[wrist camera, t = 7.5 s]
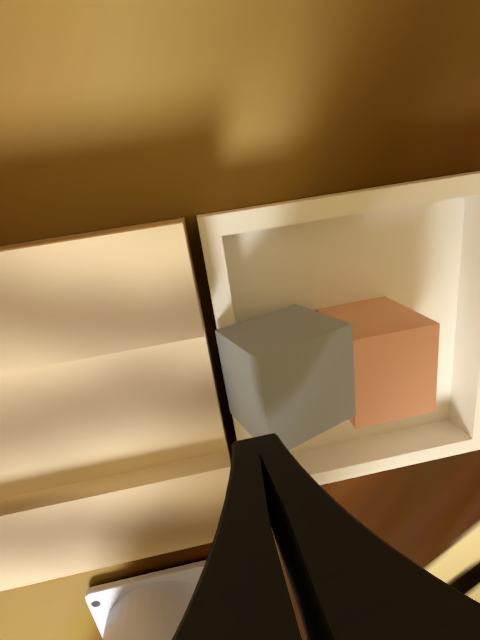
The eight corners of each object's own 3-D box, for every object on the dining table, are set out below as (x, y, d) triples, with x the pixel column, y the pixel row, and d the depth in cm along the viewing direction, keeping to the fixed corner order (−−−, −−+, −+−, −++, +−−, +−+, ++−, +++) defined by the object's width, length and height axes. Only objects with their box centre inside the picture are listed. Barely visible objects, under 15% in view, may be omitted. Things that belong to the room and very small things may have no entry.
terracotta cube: (321, 381, 18) (385, 368, 18) (355, 428, 14) (435, 411, 15) (315, 309, 17) (385, 296, 17) (351, 340, 13) (439, 323, 13)
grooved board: (233, 471, 20) (243, 535, 16) (-63, 535, 19) (-127, 620, 15) (184, 217, 15) (182, 222, 11) (-219, 280, 14) (-372, 310, 10)
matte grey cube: (302, 381, 17) (355, 415, 14) (230, 412, 16) (272, 458, 13) (295, 303, 16) (352, 323, 13) (214, 330, 14) (258, 359, 11)
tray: (455, 423, 21) (484, 448, 19) (241, 469, 20) (247, 501, 18) (476, 171, 16) (518, 166, 14) (196, 215, 15) (196, 217, 13)
